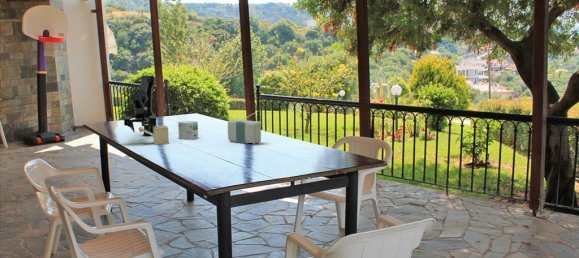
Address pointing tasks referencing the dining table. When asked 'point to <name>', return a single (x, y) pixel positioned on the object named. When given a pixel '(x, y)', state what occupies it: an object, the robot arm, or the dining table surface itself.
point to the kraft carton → (160, 135)
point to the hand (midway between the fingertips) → (141, 131)
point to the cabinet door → (145, 131)
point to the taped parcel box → (244, 131)
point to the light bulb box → (188, 130)
